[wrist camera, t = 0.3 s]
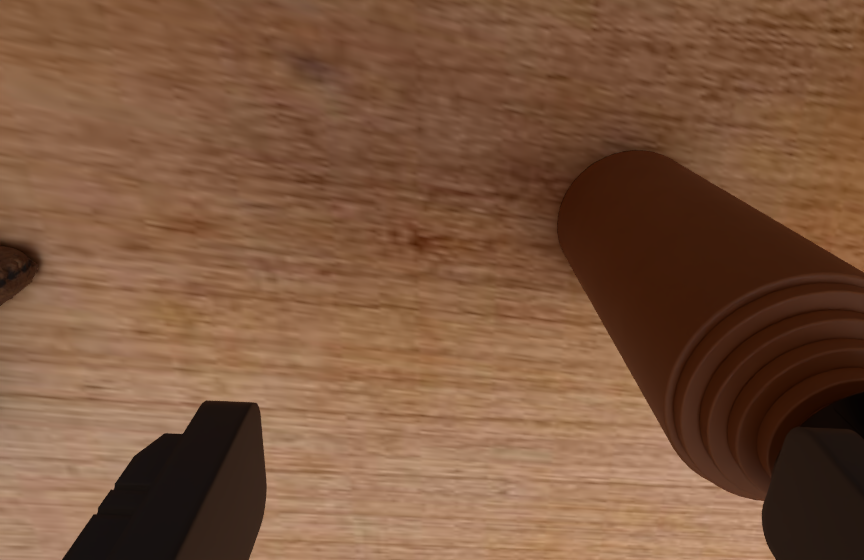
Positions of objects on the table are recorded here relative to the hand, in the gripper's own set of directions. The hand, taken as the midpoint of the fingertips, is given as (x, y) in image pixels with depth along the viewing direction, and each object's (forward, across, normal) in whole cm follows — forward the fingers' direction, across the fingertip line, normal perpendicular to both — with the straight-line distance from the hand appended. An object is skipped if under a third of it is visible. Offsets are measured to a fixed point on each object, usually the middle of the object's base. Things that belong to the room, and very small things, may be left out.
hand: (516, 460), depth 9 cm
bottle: (+19, -7, +2) cm, 21 cm away
